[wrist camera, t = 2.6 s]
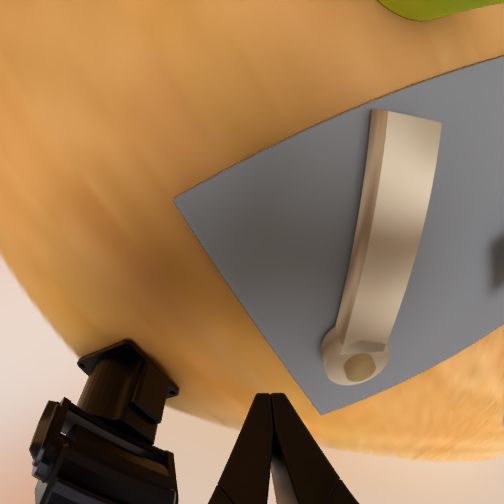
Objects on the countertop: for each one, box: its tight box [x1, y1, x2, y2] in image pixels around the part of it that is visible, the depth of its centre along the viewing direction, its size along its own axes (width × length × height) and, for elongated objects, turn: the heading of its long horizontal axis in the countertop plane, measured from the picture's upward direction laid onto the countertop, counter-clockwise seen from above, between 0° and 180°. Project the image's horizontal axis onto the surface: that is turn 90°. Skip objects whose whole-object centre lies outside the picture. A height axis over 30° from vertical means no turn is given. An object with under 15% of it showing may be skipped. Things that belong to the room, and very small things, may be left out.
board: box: [173, 56, 504, 415], centre depth 19 cm, size 24×22×1 cm
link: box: [320, 109, 442, 385], centre depth 17 cm, size 17×4×3 cm, turn 178°
